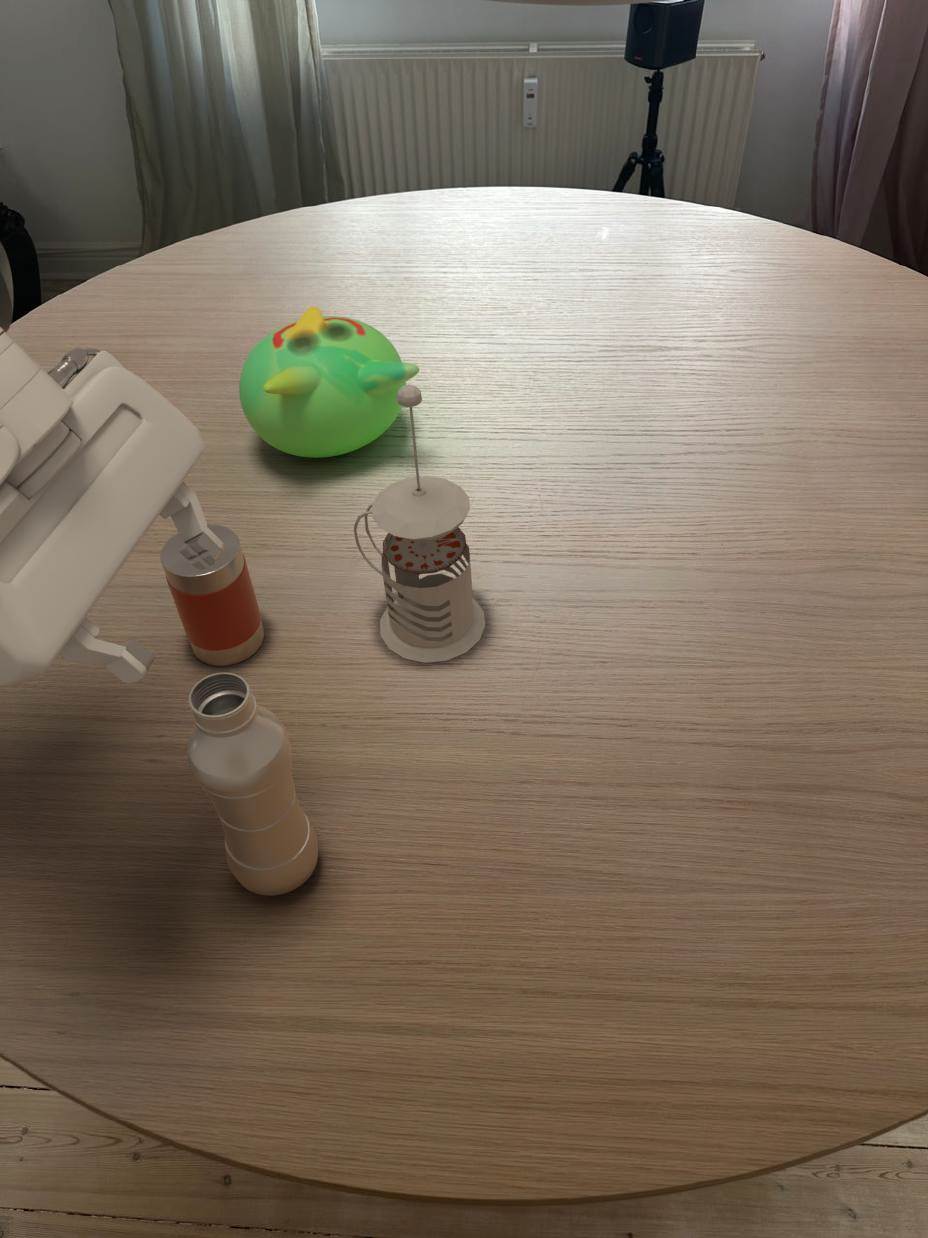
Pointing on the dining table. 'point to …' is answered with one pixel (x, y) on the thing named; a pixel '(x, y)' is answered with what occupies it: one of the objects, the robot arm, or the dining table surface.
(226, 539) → the food can
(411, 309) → the dining table surface
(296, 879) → the plastic bottle
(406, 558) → the french press
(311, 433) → the toy bird
